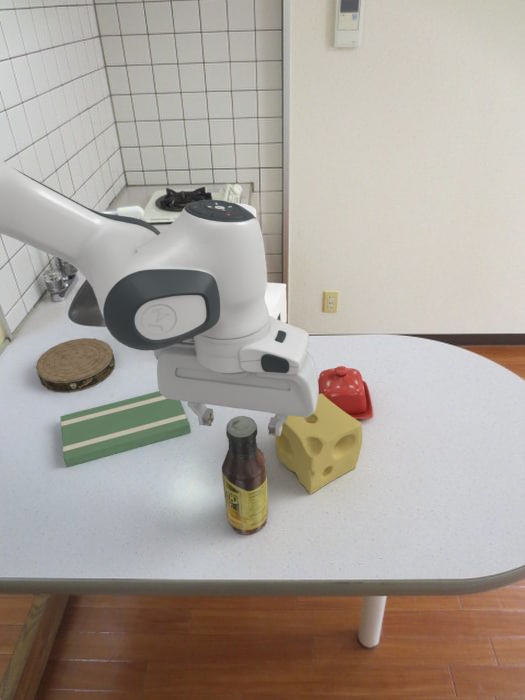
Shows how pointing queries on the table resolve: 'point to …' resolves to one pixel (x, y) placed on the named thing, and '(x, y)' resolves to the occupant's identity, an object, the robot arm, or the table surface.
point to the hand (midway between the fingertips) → (240, 427)
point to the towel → (121, 427)
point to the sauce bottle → (244, 477)
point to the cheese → (320, 444)
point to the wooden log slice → (75, 365)
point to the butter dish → (346, 391)
